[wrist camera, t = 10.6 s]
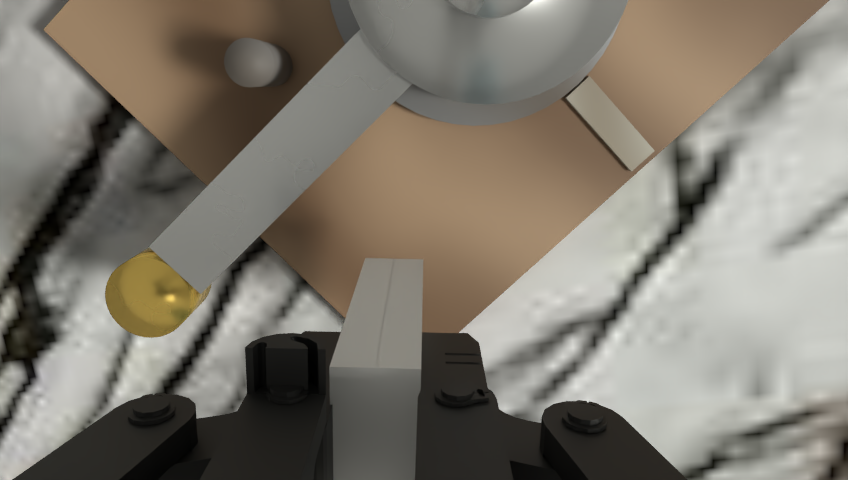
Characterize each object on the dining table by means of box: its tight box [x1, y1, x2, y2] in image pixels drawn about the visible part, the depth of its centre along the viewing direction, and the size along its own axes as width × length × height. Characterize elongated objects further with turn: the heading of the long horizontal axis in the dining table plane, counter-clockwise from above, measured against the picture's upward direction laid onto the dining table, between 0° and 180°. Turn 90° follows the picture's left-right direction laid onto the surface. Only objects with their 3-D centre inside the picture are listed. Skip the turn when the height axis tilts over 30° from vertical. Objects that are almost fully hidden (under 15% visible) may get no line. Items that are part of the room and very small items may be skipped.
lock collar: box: [105, 0, 628, 337], centre depth 17 cm, size 7×17×3 cm, turn 134°
